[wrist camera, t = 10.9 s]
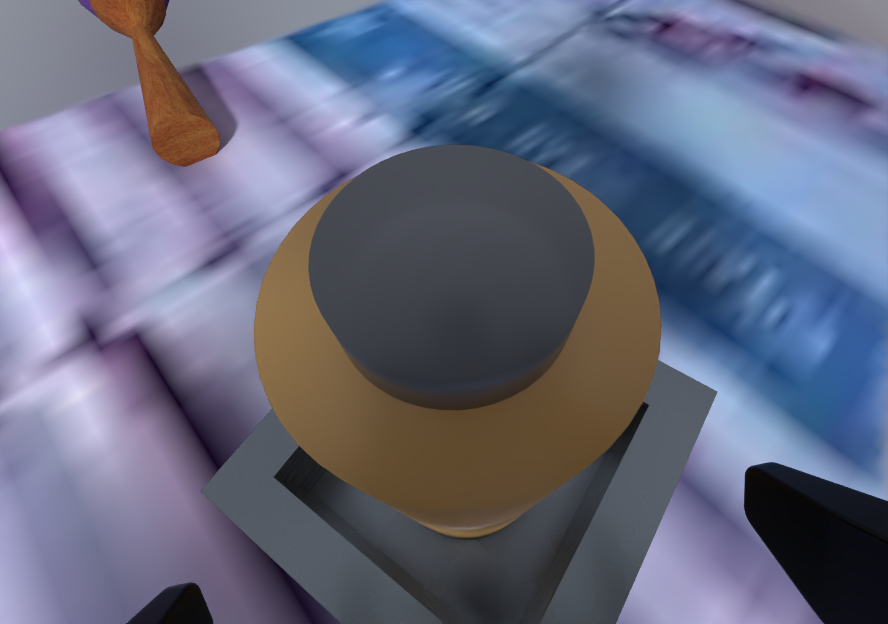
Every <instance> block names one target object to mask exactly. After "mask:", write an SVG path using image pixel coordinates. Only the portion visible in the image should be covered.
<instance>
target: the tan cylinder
mask: <svg viewBox="0 0 888 624" xmlns="http://www.w3.org/2000/svg"><path fill="white" fill-rule="evenodd" d="M660 339H661V316H660V304H659V299H658V294H657V290H656V286H655V282H654V278H653V276H652V273H651V271H650V268H649V266H648V263H647V261H646V258H645V256H644V255H643V253H642V251H641V249H640V248H639V246H638V244H637V242H636V241H635V239H634V237H633V236H632V235H631V233H630V232H629V231H628V229H627V228H626V227H625V225H624V224H623V223H622V222H621V220H620V219H619V218H618V217H617V216H616V215H615V214H614V213H613V212H612V211H611V210H610V209H609V208H608V207H607V206H606V205H605V204H604V203H603V202H601V201H600V200H599V199H598V198H597V197H595V196H594V195H593V194H592V193H590V192H589V191H588V190H586V189H585V188H583V187H582V186H580V185H578V184H577V183H575V182H574V181H572V180H571V179H569V178H567V177H565V176H563V175H561V174H559V173H557V172H555V171H553V170H551V169H548V168H546V167H543V166H540V165H538V164H535V163H532V162H529V161H527V160H525V159H523V158H521V157H518V156H516V155H513V154H510V153H508V152H504V151H500V150H496V149H493V148H487V147H481V146H474V145H439V146H431V147H425V148H420V149H415V150H411V151H408V152H405V153H401V154H398V155H395V156H393V157H391V158H388V159H386V160H384V161H381V162H380V163H378V164H376V165H374V166H372V167H370V168H369V169H367V170H366V171H364V172H363V173H361V174H360V175H358V176H356V177H355V178H353V179H351V180H349V181H347V182H346V183H344V184H342V185H341V186H339V187H338V188H336V189H335V190H333V191H332V192H330V193H329V194H328V195H326V196H325V197H324V198H322V199H321V200H320V201H319V202H318V203H317V204H315V205H314V206H313V207H312V208H311V209H310V210H308V212H307V213H306V214H305V215H304V216H303V217H302V218H301V219H300V220H299V221H298V222H297V223H296V224H295V225H294V227H293V228H292V229H291V231H290V232H289V233H288V235H287V236H286V238H285V239H284V240H283V242H282V243H281V244H280V246H279V248H278V250H277V252H276V253H275V255H274V257H273V259H272V260H271V262H270V264H269V267H268V269H267V272H266V274H265V277H264V279H263V282H262V285H261V289H260V293H259V297H258V301H257V305H256V313H255V322H254V344H255V355H256V361H257V366H258V371H259V376H260V379H261V381H262V384H263V387H264V390H265V392H266V395H267V398H268V400H269V402H270V404H271V406H272V408H273V409H274V411H275V413H276V415H277V417H278V418H279V420H280V422H281V423H282V425H283V426H284V427H285V429H286V430H287V431H288V432H289V434H290V435H291V436H292V438H293V439H294V440H295V441H296V443H297V444H298V445H299V446H300V447H301V448H302V449H303V450H304V451H305V452H306V453H307V454H309V455H310V456H311V457H312V458H313V459H314V460H315V461H316V462H317V463H318V464H319V465H321V466H322V467H324V468H325V469H327V470H328V471H330V472H331V473H332V474H334V475H335V476H337V477H338V478H340V479H341V480H343V481H344V482H346V483H348V484H350V485H352V486H353V487H355V488H357V489H359V490H361V491H362V492H364V493H366V494H368V495H370V496H372V497H373V498H375V499H377V500H379V501H381V502H382V503H384V504H386V505H388V506H390V507H391V508H393V509H395V510H397V511H399V512H401V513H402V514H404V515H406V516H408V517H410V518H411V519H413V520H415V521H417V522H419V523H420V524H422V525H424V526H426V527H428V528H429V529H431V530H433V531H435V532H437V533H439V534H441V535H444V536H448V537H451V538H457V539H476V538H482V537H485V536H489V535H491V534H493V533H496V532H498V531H500V530H501V529H503V528H504V527H506V526H507V525H509V524H510V523H511V522H513V521H514V520H515V519H517V518H518V517H520V516H521V515H522V514H524V513H525V512H526V511H528V510H529V509H531V508H532V507H533V506H535V505H536V504H537V503H539V502H540V501H541V500H543V499H544V498H546V497H547V496H548V495H550V494H551V493H552V492H554V491H555V490H557V489H558V488H559V487H561V486H562V485H563V484H565V483H566V482H567V481H569V480H570V479H572V478H573V477H574V476H576V475H577V474H578V473H580V472H581V471H583V470H584V469H585V468H587V467H588V466H589V465H590V464H591V463H592V462H594V461H595V460H596V459H597V458H598V457H599V456H601V455H602V454H603V453H604V452H605V451H606V450H608V449H609V448H610V447H611V446H612V444H613V443H614V442H615V441H616V440H617V439H618V437H619V436H620V435H621V434H622V433H623V432H624V430H625V429H626V428H627V427H628V426H629V424H630V422H631V421H632V419H633V418H634V416H635V414H636V413H637V411H638V409H639V408H640V406H641V405H642V403H643V401H644V399H645V396H646V394H647V391H648V389H649V387H650V384H651V382H652V379H653V377H654V373H655V369H656V364H657V360H658V356H659V352H660Z"/></svg>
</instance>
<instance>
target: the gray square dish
mask: <svg viewBox="0 0 888 624" xmlns="http://www.w3.org/2000/svg"><path fill="white" fill-rule="evenodd" d="M716 394H717V391H715V390H713V389H711V388H709V387H708V386H706V385H704V384H702V383H700V382H698V381H696V380H694V379H693V378H691V377H689V376H687V375H685V374H683V373H681V372H680V371H678V370H676V369H674V368H672V367H670V366H668V365H666V364H665V363H663V362H661V361H659V360H657V364H656V369H655V373H654V377H653V379H652V382H651V384H650V387H649V389H648V391H647V394H646V396H645V399H644V401H643V403H642V405H641V406H640V408H639V409H638V411H637V413H636V414H635V416H634V418H633V419H632V421H631V422H630V424H629V426H628V427H627V428H626V429H625V430H624V432H623V433H622V434H621V435H620V436H619V437H618V439H617V440H616V441H615V442H614V443H613V444H612V446H611V447H610V448H609V449H608V450H606V451H605V452H604V453H603V454H602V455H601V456H599V457H598V458H597V459H596V460H595V461H594V462H592V463H591V464H590V465H589V466H588V467H587V468H585V469H584V470H583V471H581V472H580V473H578V474H577V475H576V476H574V477H573V478H572V479H570V480H569V481H567V482H566V483H565V484H563V485H562V486H561V487H559V488H558V489H557V490H555V491H554V492H552V493H551V494H550V495H548V496H547V497H546V498H544V499H543V500H541V501H540V502H539V503H537V504H536V505H535V506H533V507H532V508H531V509H529V510H528V511H526V512H525V513H524V514H522V515H521V516H520V517H518V518H517V519H515V520H514V521H513V522H511V523H510V524H509V525H507V526H506V527H504V528H503V529H501V530H500V531H498V532H496V533H493V534H491V535H489V536H485V537H482V538H476V539H457V538H451V537H448V536H444V535H441V534H439V533H437V532H435V531H433V530H431V529H429V528H428V527H426V526H424V525H422V524H420V523H419V522H417V521H415V520H413V519H411V518H410V517H408V516H406V515H404V514H402V513H401V512H399V511H397V510H395V509H393V508H391V507H390V506H388V505H386V504H384V503H382V502H381V501H379V500H377V499H375V498H373V497H372V496H370V495H368V494H366V493H364V492H362V491H361V490H359V489H357V488H355V487H353V486H352V485H350V484H348V483H346V482H344V481H343V480H341V479H340V478H338V477H337V476H335V475H334V474H332V473H331V472H330V471H328V470H327V469H325V468H324V467H322V466H321V465H319V464H318V463H317V462H316V461H315V460H314V459H313V458H312V457H311V456H310V455H309V454H307V453H306V452H305V451H304V450H303V449H302V448H301V447H300V446H299V445H298V444H297V443H296V441H295V440H294V439H293V438H292V436H291V435H290V434H289V432H288V431H287V430H286V429H285V427H284V426H283V425H282V423H281V422H280V420H279V418H278V417H277V415H276V413H275V411H274V409H272V410H271V411H270V412H269V413H268V414H267V415H266V417H265V418H264V419H263V420H262V421H261V422H260V423H259V425H258V426H257V427H256V428H255V429H254V430H253V431H252V433H251V434H250V435H249V436H248V437H247V438H246V439H245V441H244V442H243V443H242V444H241V445H240V446H239V448H238V449H237V450H236V451H235V452H234V453H233V454H232V456H231V457H230V458H229V459H228V460H227V461H226V462H225V464H224V465H223V466H222V467H221V468H220V469H219V470H218V472H217V473H216V474H215V475H214V476H213V477H212V478H211V480H210V481H209V482H208V483H207V484H206V485H205V486H204V488H203V489H202V490H201V492H202V493H203V494H204V495H205V496H206V497H207V498H208V499H209V500H210V501H211V502H212V503H213V504H214V505H215V506H217V507H218V508H219V509H220V510H221V511H222V512H223V513H224V514H225V515H226V516H227V517H228V518H229V519H230V520H231V521H233V522H234V523H235V524H236V525H237V526H238V527H239V528H240V529H241V530H242V531H243V532H244V533H245V534H246V535H247V536H249V537H250V538H251V539H252V540H253V541H254V542H255V543H256V544H257V545H258V546H259V547H260V548H261V549H262V550H263V551H264V552H266V553H267V554H268V555H269V556H270V557H271V558H272V559H273V560H274V561H275V562H276V563H277V564H278V565H279V566H280V567H282V568H283V569H284V570H285V571H286V572H287V573H288V574H289V575H290V576H291V577H292V578H293V579H294V580H295V581H296V582H298V583H299V584H300V585H301V586H302V587H303V588H304V589H305V590H306V591H307V592H308V593H309V594H310V595H311V596H312V597H313V598H315V599H316V600H317V601H318V602H319V603H320V604H321V605H322V606H323V607H324V608H325V609H326V610H327V611H328V612H329V613H331V614H332V615H333V616H334V617H335V618H336V619H337V620H338V621H339V622H340V623H341V624H616V622H617V620H618V617H619V615H620V613H621V610H622V608H623V606H624V604H625V601H626V599H627V597H628V594H629V592H630V590H631V588H632V585H633V583H634V581H635V579H636V576H637V574H638V572H639V569H640V567H641V565H642V563H643V560H644V558H645V556H646V553H647V551H648V549H649V547H650V544H651V542H652V540H653V538H654V535H655V533H656V531H657V528H658V526H659V524H660V522H661V519H662V517H663V515H664V512H665V510H666V508H667V506H668V503H669V501H670V499H671V497H672V494H673V492H674V490H675V487H676V485H677V483H678V481H679V478H680V476H681V474H682V471H683V469H684V467H685V465H686V462H687V460H688V458H689V456H690V453H691V451H692V449H693V446H694V444H695V442H696V440H697V437H698V435H699V433H700V430H701V428H702V426H703V424H704V421H705V419H706V417H707V415H708V412H709V410H710V408H711V405H712V403H713V401H714V399H715V396H716Z"/></svg>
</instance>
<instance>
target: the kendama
mask: <svg viewBox="0 0 888 624" xmlns="http://www.w3.org/2000/svg"><path fill="white" fill-rule="evenodd" d="M78 1H79V2H80V4H81V5H82V6H84V7H85V8H86V9H88V10H89V11H90V12H91V13H93V14H94V15H95V16H96V17H98V18H99V19H100V20H101V21H102V22H104V23H105V24H106V25H108V26H109V27H110V28H111V29H113V30H114V31H116V32H118V33H121V34H123V35H125V36H127V37H130V38H132V40H133V45H134V50H135V56H136V61H137V67H138V72H139V78H140V83H141V89H142V94H143V99H144V105H145V110H146V116H147V121H148V127H149V132H150V137H151V142H152V147H153V149H154V151H155V152H156V153H157V154H158V156H159V157H160V158H162V159H164V160H165V161H167V162H169V163H171V164H175V165H179V166H188V165H191V164H193V163H196V162H198V161H201V160H204V159H206V158H209V157H211V156H214V155H215V154H216V153H217V150H218V148H219V146H220V139H219V134H218V132H217V130H216V129H215V127H214V126H213V124H212V123H211V121H210V120H209V118H208V117H207V115H206V114H205V112H204V111H203V109H202V108H201V106H200V105H199V103H198V102H197V100H196V99H195V97H194V96H193V94H192V93H191V91H190V90H189V88H188V87H187V85H186V84H185V82H184V81H183V79H182V78H181V76H180V75H179V73H178V72H177V70H176V69H175V67H174V66H173V64H172V63H171V61H170V60H169V58H168V57H167V55H166V54H165V52H164V51H163V50H162V48H161V47H160V45H159V44H158V42H157V41H156V39H155V38H154V35H155V34H156V32H157V31H158V30H159V29H160V27H161V26H162V25H163V22H164V18H165V16H166V9H167V6H168V3H169V0H78Z"/></svg>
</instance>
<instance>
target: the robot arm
mask: <svg viewBox="0 0 888 624" xmlns="http://www.w3.org/2000/svg"><path fill="white" fill-rule="evenodd" d="M744 510H745V514H746V516H747V519H748V521H749V522H750V524H751V526H752V527H753V528H754V530H755V531H756V532H757V534H758V535H759V537H760V538H761V539H762V541H763V542H764V543H765V545H766V546H767V548H768V549H769V550H770V552H771V553H772V554H773V556H774V557H775V559H776V560H777V561H778V563H779V564H780V565H781V567H782V568H783V570H784V571H785V572H786V574H787V575H788V576H789V578H790V579H791V581H792V582H793V583H794V585H795V586H796V588H797V589H798V590H799V592H800V593H801V594H802V596H803V597H804V599H805V600H806V601H807V603H808V604H809V605H810V607H811V608H812V609H813V610H814V612H815V613H816V614H817V616H818V617H819V618H820V620H821V621H822V622H823V623H824V624H888V501H886V500H883V499H880V498H877V497H874V496H871V495H868V494H865V493H863V492H860V491H857V490H854V489H851V488H848V487H845V486H842V485H839V484H836V483H833V482H831V481H828V480H825V479H822V478H819V477H816V476H813V475H810V474H807V473H804V472H801V471H799V470H796V469H793V468H790V467H787V466H784V465H781V464H778V463H774V462H768V463H763V464H759V465H754V466H750V467H749V468H748V469H747V470H746V472H745V490H744ZM126 624H213V619H212V617H211V614H210V612H209V609H208V607H207V604H206V602H205V600H204V597H203V595H202V592H201V590H200V588H199V586H198V585H197V584H195V583H191V582H190V583H185V584H180V585H175V586H171V587H168V588H166V589H164V590H163V591H162V592H161V593H160V594H159V595H158V596H156V597H155V598H154V599H153V600H152V601H151V602H150V603H149V604H148V605H146V606H145V607H144V608H143V609H142V610H141V611H140V612H139V613H138V614H136V615H135V616H134V617H133V618H132V619H131V620H130V621H129V622H128V623H126Z"/></svg>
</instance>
